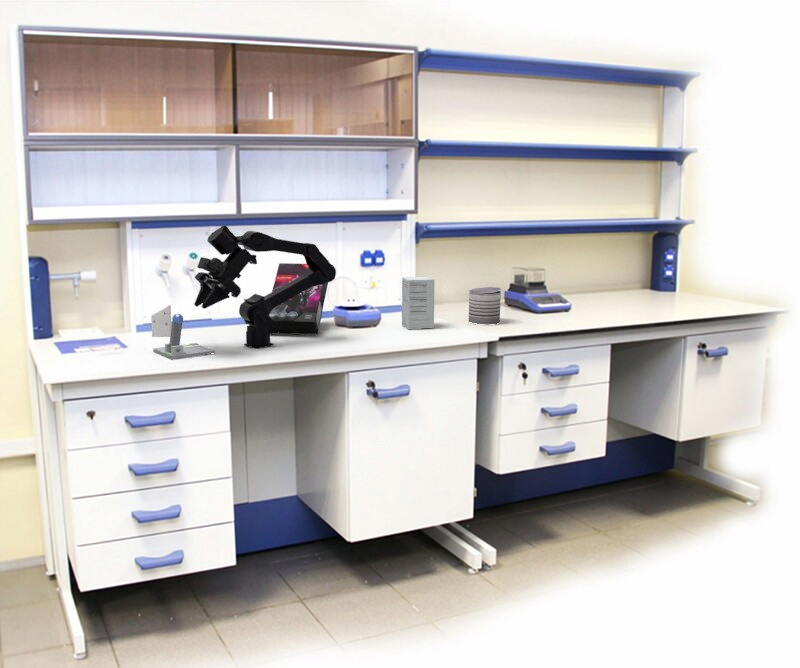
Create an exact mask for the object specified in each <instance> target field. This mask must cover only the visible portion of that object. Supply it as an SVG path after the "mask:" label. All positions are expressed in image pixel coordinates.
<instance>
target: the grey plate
mask: <svg viewBox="0 0 800 668" xmlns="http://www.w3.org/2000/svg"><path fill="white" fill-rule="evenodd" d="M150 317H151V318H150V319H151V320H150V321H151V337H152V338H170V336H171V328H172V308H171V304H169V305H168V306H166V307H164V308H163V309H160V310H159V311H157V312H156V313H153V314H152V315H151V316H150Z"/></svg>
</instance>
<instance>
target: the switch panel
mask: <svg viewBox="0 0 800 668" xmlns="http://www.w3.org/2000/svg"><path fill="white" fill-rule="evenodd" d="M169 344H170V342H169V343H164V346H162V347H154V348H152V350H153V353H155V354H157V355H160V356H163V357H164V358H167V359H169V358H170V360H172V359H174V360H179V359H178V358H181V359H186V358H185V357H188V358H193V357H192V356H196V357H199V356H198V355H203V356H206V355H205V354H210V355H212V354H211V353H215V354H216V350H214V349H212V348H209V347H206V346H204V345H201V344H199V343H196V342H192V343H185V344H180V345H177V346H171V350H170V349H169Z"/></svg>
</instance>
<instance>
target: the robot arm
mask: <svg viewBox="0 0 800 668" xmlns="http://www.w3.org/2000/svg"><path fill="white" fill-rule="evenodd" d="M207 242H208V244H210V245H211V247H213V248H214V249H215V250H216V251H217V252H218V253H219V254H220V255H222V256H223V255H228V256H227V257H225V259H224V260H223V261H222V260H221V259H220V258H218V257H213V258H212V259H210V258H207V257H202V256H201V257H200V259H199V261H198V263H197V266H196V268H197V269H200V270H203V271H206V272H203V271H201V272H197V274H196V275H195V276H194V278H195V279H194V280H196V281H197V282H198V283H199V285H200V289H199V291H198V294H197V296H196V299H195V302H194V303H193V305H194V306H195V307H200V306H201V308H202V309H203V310H205V309H207V308H209V307H211V306H213V305H215V304H217V303H220V302H222V301H224V300H226V299H229V298H230V295H231V297H233V298H236V299H237V298H238V297H239V296H240V294H241V293H242V292H241V291H242V289H241V287H240V286H239V285H238V284H237V283H236V282H235V280H236V279H240V278H241V277H242V274H241V273H242V271H243V270H244V269H245V268H246V266H247V265H248V264H251V265H257V264H258V260H257V255H256V254H251V253H250V251H251V252H256V253H258V252H259V253H260V252H274V251H277V252H281V253H289V254H295V255H300V256H301V255H302V256H303V257H304V259H305V264H307V265H308V267H309V268H308V269H307V270H306V271H305V273H304V274H303V275H302V276H300V277H298V278H297V279H295V280H293V281H291V282H289V283H288V284H286V285H284V286H282V287H280V288H279V289H277V290H275V291H273V292H272V291H271V292H269V293H268V294H266V295H264V296H263V295H262V294H261V295H260V294H256V293H254V294H253V295H251V296H250V297H249V298H244V299H243V302H242V303H240V305H239V309H238V310H239V311H238V313H239V316H240V318H242V319H243V321H244V323H245V325H247V326H246V332H245V343H244V344H243V345H244V346H245V345H246V347H249V346H250V348H253V347H254V349H260V347H262V348H266V347H265V346H267V347H272V346H271V345H273V346H274V343H272V342H271V333H270V327H271V326H272V323H273V320H272V319H271V318H270V317H269V316H268V315H269V314H270V313H271V311H272V310H273V309H274V308H275V307H277V306H278V305H280V304H282V303H284V302H286V301H287V300H289V299H291V298H293V297H294V296H296V295H298V294H300V293H301V292H303V291H305V290H307V289H309V288H310V287H313V286H317V285H322V284H325V283H328V284H329V283H331V282H333V281H334V280H335V278H336V275H337V269H336V267H335V266H334V265H333V264H332V263H330V261H329V259H327V257H325V255H324V254H323V253H322V251H320V248H319V247H318V246H317V245H316V244H314V243H311V242H310V243H309V242H299V241H298V242H297V241H292V240H286V239H280V238H276V237H273V236H271V235H268V234H266V233H263V232H260V231H255V230H254V231H253V230H247V231H246V232H244V233H243V235H238V236H236V235H235V234H234V233H233V232H232V231H231V230H230V228H229V227H228V226H227V225H224V224H222V225H221V227H218V228H217V229H215V230H214V231H212V232H211V233H210V234H209V236H208V237H207ZM241 246H242V247H243V248H242V247H241ZM229 294H230V295H229Z"/></svg>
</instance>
